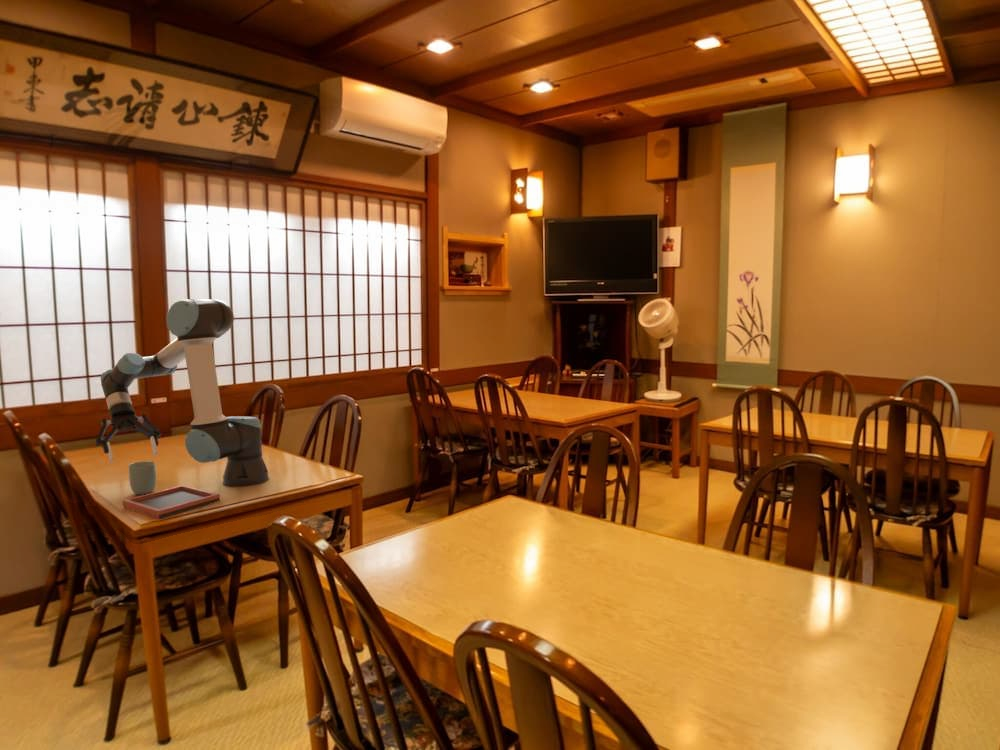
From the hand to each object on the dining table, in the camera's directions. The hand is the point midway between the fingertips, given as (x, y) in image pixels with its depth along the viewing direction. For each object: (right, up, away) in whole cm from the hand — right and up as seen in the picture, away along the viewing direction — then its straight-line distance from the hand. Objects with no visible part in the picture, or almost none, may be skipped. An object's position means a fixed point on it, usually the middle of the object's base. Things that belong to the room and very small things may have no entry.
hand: (134, 456), depth 226 cm
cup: (+5, -12, -4) cm, 14 cm away
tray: (+21, -13, -16) cm, 29 cm away
